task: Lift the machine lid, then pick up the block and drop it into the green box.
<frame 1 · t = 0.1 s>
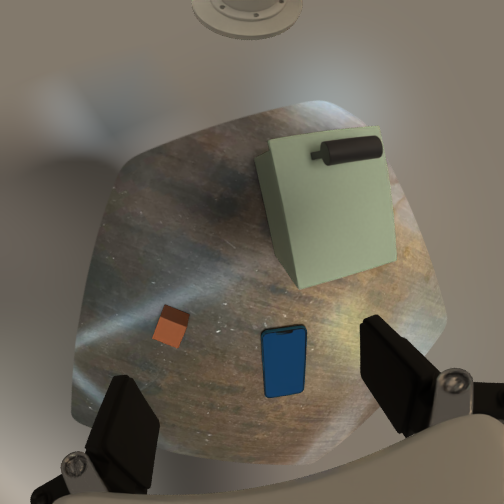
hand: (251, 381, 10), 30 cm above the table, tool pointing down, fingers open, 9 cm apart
smartphone: (283, 362, 45), on the table
green box: (305, 198, 38), on the table
block: (172, 319, 41), on the table
machine lid: (352, 207, 24), point 15 cm above the table, hinge at 0.0°
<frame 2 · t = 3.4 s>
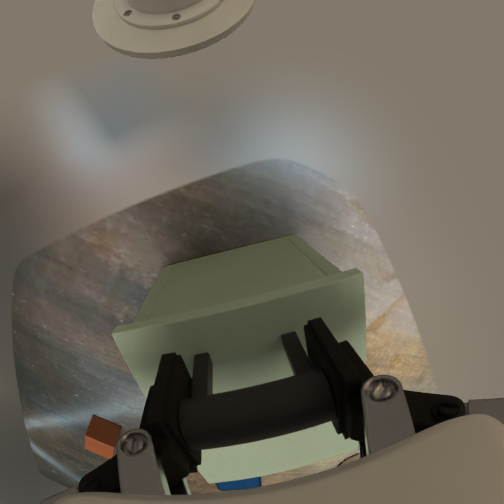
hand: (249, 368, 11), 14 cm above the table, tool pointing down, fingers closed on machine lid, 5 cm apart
smartphone: (235, 467, 33), on the table
green box: (247, 319, 26), on the table
block: (105, 427, 29), on the table
machine lid: (273, 445, 12), point 15 cm above the table, hinge at 0.0°, touching gripper
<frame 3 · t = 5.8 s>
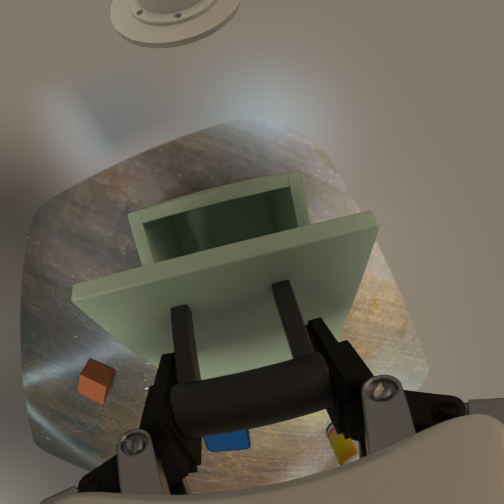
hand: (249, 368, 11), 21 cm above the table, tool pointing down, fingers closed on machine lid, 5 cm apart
smartphone: (223, 421, 37), on the table
green box: (230, 249, 31), on the table
block: (100, 373, 33), on the table
machine lid: (255, 378, 13), point 19 cm above the table, hinge at 36.2°, touching gripper
supplement bottle: (343, 425, 41), on the table
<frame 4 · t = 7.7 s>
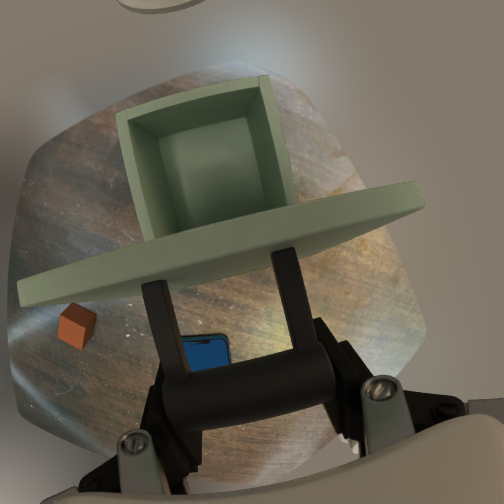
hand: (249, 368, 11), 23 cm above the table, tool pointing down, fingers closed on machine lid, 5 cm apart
smartphone: (207, 376, 38), on the table
green box: (213, 178, 31), on the table
block: (82, 319, 33), on the table
machine lid: (238, 315, 13), point 20 cm above the table, hinge at 68.6°, touching gripper
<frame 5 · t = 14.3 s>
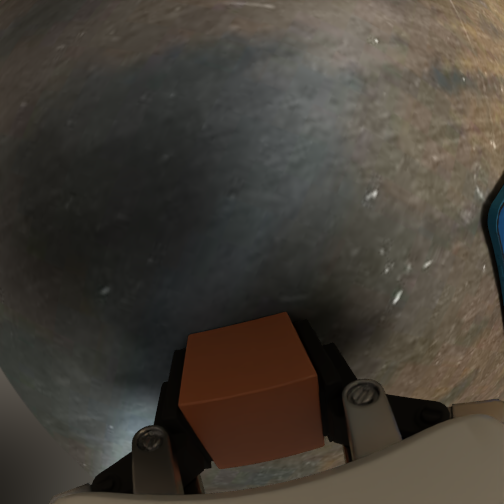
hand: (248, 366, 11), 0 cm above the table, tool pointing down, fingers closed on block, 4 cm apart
block: (248, 361, 11), on the table, touching gripper
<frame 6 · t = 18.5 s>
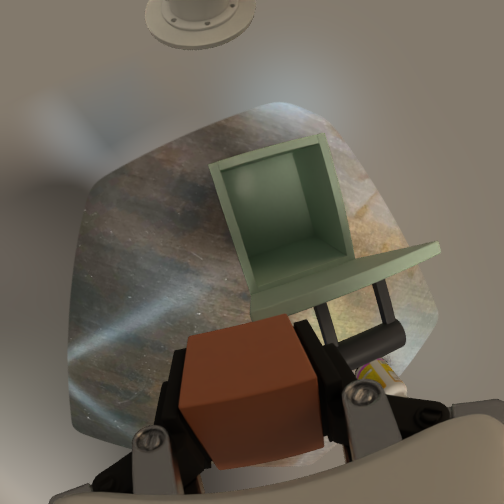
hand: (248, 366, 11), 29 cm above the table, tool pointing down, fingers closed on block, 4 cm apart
green box: (268, 204, 38), on the table
block: (248, 363, 11), point 29 cm above the table, touching gripper
machine lid: (334, 311, 21), point 20 cm above the table, hinge at 69.0°
supplement bottle: (369, 368, 49), on the table
when the fingers open (15 cm above the table, at t = 22.9 s): block drops 14 cm, resting on green box.
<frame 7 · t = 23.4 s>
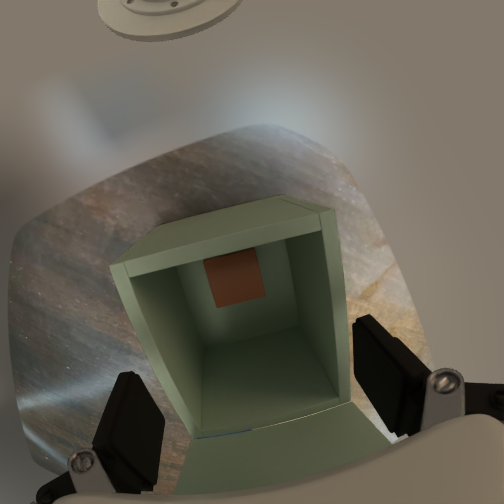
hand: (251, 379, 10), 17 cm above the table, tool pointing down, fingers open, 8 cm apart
green box: (237, 280, 27), on the table
block: (232, 264, 25), point 1 cm above the table, touching green box
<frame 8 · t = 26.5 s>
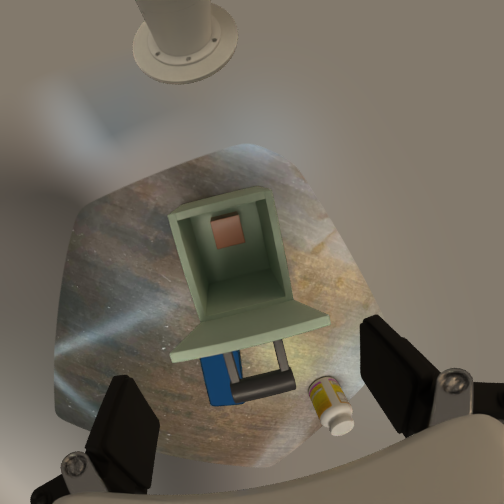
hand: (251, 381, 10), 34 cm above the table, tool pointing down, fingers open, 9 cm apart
smartphone: (223, 377, 50), on the table
green box: (229, 238, 43), on the table
block: (227, 227, 42), point 1 cm above the table, touching green box
machine lid: (254, 349, 26), point 20 cm above the table, hinge at 69.0°
supplement bottle: (322, 386, 54), on the table
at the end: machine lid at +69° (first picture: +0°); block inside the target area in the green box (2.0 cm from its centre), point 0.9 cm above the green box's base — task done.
